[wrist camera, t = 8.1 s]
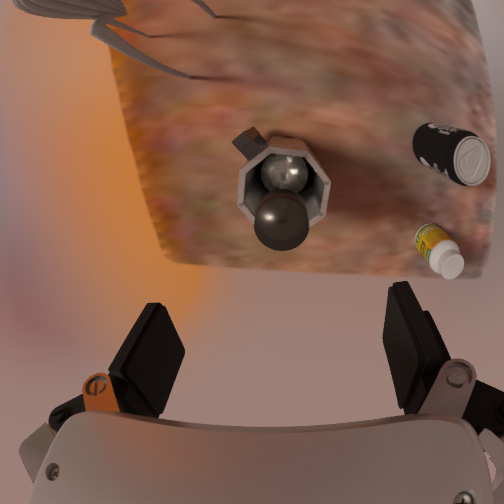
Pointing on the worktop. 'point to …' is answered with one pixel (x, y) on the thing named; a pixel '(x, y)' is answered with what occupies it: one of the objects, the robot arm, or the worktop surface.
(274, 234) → the grey knobbed rod
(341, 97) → the worktop surface
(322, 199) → the press carafe
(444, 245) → the supplement bottle
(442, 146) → the beverage can
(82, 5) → the juicer
